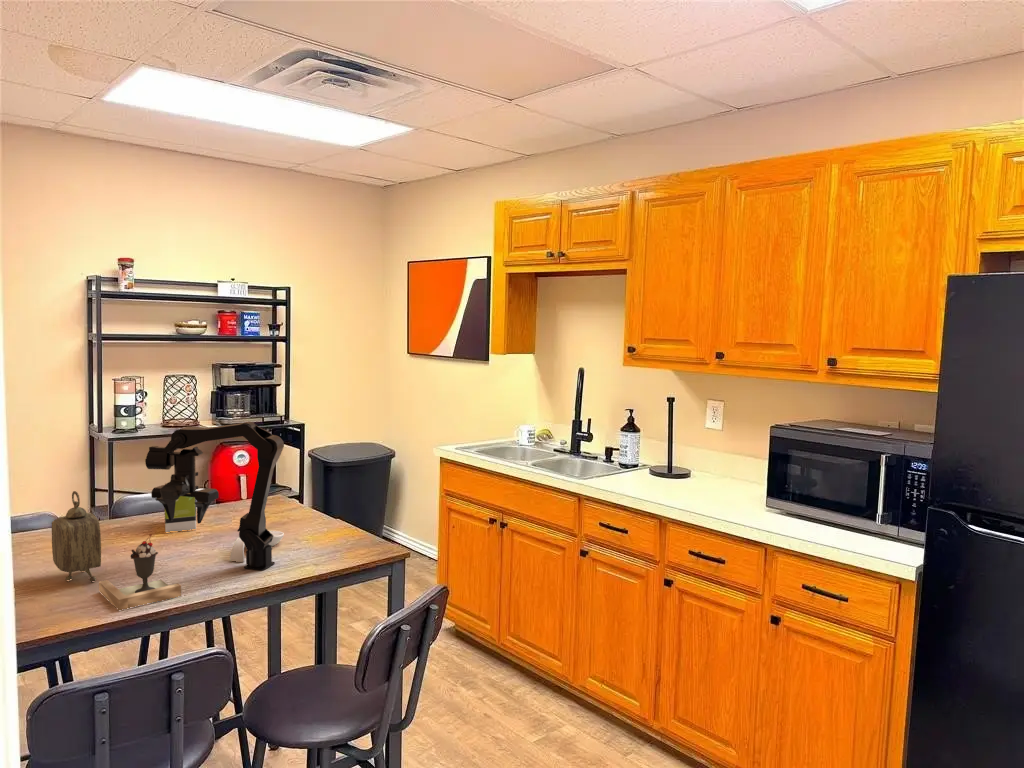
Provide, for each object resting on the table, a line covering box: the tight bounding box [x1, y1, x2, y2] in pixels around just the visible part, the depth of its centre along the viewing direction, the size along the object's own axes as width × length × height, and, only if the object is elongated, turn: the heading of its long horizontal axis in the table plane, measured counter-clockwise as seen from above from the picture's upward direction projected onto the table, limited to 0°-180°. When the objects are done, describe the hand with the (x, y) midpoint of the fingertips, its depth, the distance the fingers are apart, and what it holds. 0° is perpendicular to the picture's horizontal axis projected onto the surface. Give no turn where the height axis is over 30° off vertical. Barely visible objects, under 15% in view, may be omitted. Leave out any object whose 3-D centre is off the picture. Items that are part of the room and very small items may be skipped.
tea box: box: [163, 482, 197, 532], centre depth 255 cm, size 15×10×15 cm
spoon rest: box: [229, 530, 285, 563], centre depth 231 cm, size 24×12×7 cm, turn 172°
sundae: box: [129, 534, 159, 593], centre depth 193 cm, size 7×7×15 cm
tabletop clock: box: [51, 490, 102, 583], centre depth 202 cm, size 14×9×25 cm, turn 43°
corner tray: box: [98, 579, 182, 611], centre depth 192 cm, size 15×17×3 cm
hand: (185, 521), depth 215 cm, fingers open, 9 cm apart
